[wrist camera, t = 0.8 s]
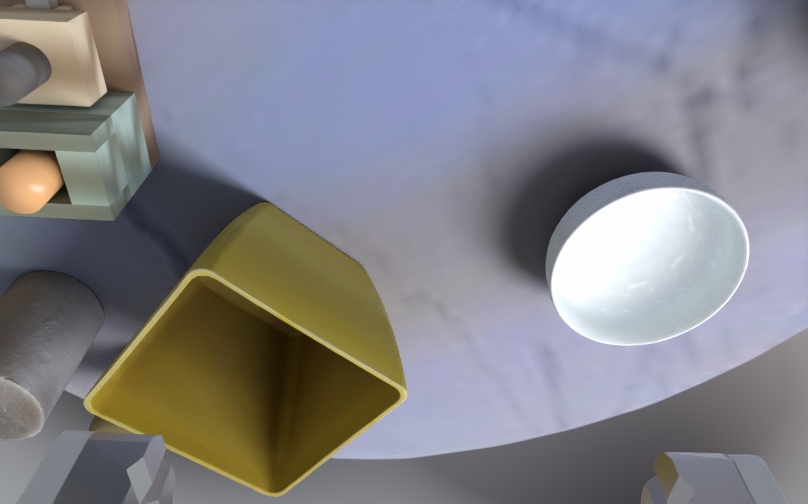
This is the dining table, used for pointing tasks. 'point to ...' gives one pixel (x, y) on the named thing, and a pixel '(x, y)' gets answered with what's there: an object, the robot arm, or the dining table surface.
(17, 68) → the carriage
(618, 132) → the dining table surface
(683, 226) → the cereal bowl
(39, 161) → the plunger
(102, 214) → the rail bed
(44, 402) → the pillar candle
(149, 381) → the flower pot
